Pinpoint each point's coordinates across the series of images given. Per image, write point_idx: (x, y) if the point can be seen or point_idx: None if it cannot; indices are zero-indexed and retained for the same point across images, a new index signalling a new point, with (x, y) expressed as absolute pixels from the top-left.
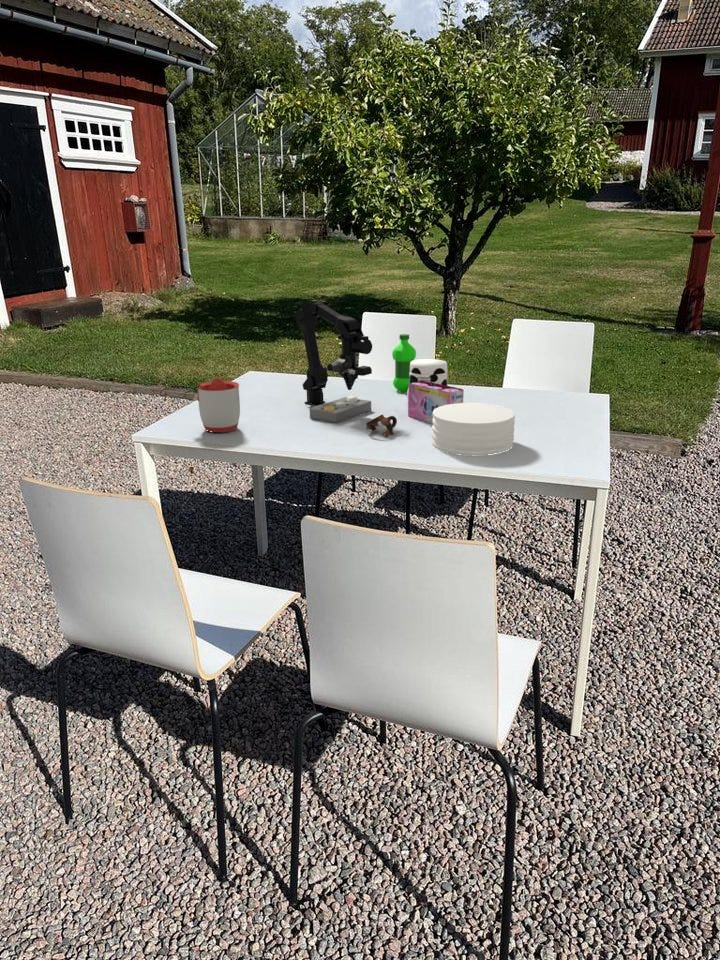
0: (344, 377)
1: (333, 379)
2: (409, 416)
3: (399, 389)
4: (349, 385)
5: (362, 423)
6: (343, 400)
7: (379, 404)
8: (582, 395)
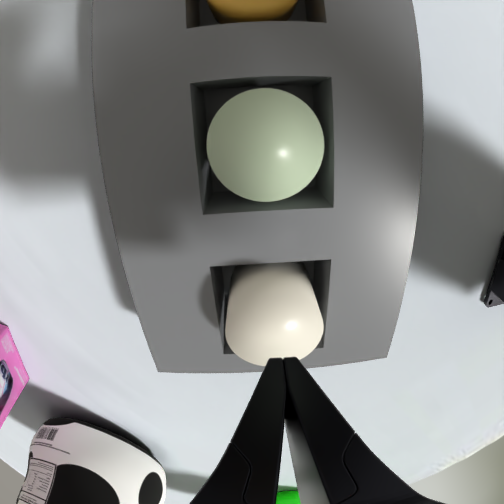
0: (378, 502)
1: (489, 440)
2: (2, 325)
3: (288, 495)
4: (259, 403)
5: (14, 88)
6: (348, 284)
7: (236, 415)
8: None
